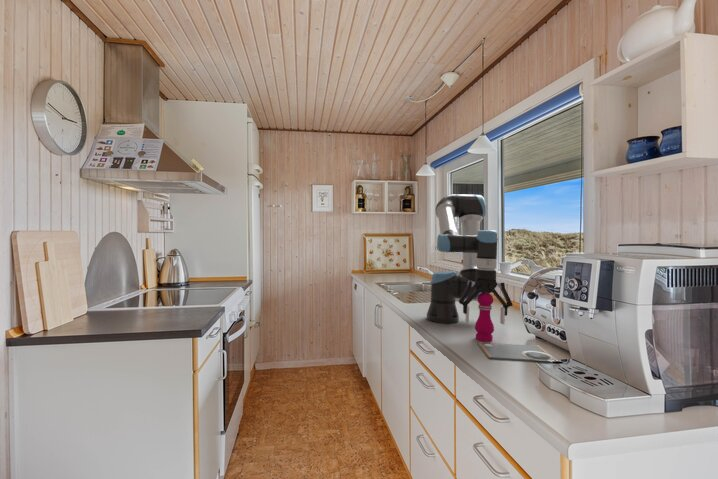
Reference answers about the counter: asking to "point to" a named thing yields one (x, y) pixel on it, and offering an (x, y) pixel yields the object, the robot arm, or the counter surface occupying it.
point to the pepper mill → (484, 318)
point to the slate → (515, 352)
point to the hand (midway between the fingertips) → (484, 322)
